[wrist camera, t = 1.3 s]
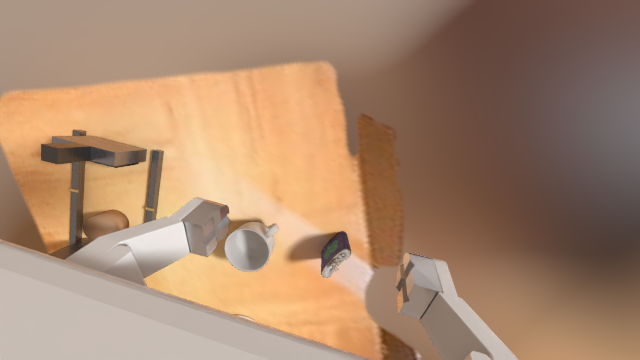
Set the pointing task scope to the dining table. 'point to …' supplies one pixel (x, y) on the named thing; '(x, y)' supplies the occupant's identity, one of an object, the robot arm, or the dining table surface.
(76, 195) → the press frame
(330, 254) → the flask
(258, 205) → the dining table surface
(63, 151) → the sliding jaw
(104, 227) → the brown short cylinder
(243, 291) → the dining table surface
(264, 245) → the teacup
